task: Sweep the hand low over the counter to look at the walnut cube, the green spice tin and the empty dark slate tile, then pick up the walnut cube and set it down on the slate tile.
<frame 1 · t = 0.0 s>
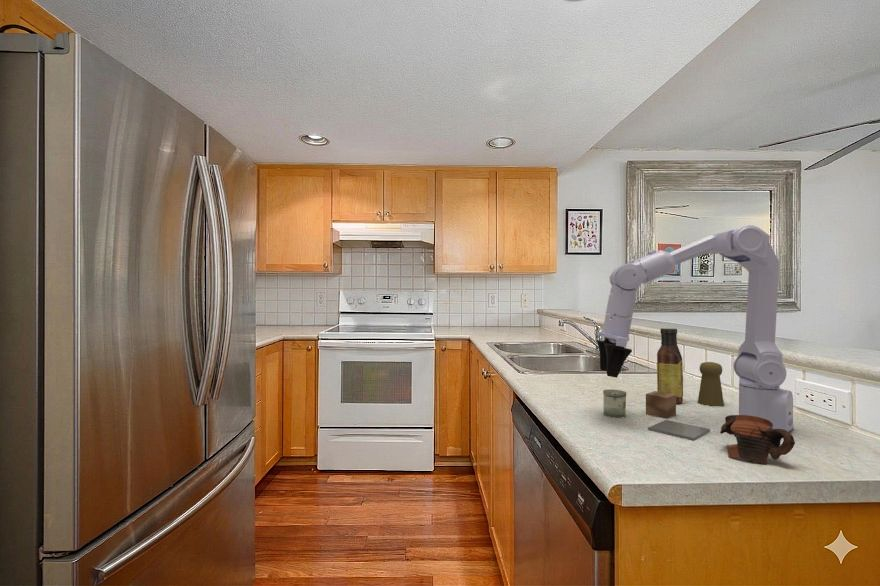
hand: (608, 373, 102), 11 cm above the counter, tool pointing down, fingers open, 7 cm apart
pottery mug: (755, 458, 79), on the counter
slate tile: (679, 430, 93), on the counter
green spice tin: (614, 415, 106), on the counter
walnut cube: (660, 414, 106), on the counter
cork: (710, 404, 117), on the counter
sauce bottle: (669, 402, 119), on the counter
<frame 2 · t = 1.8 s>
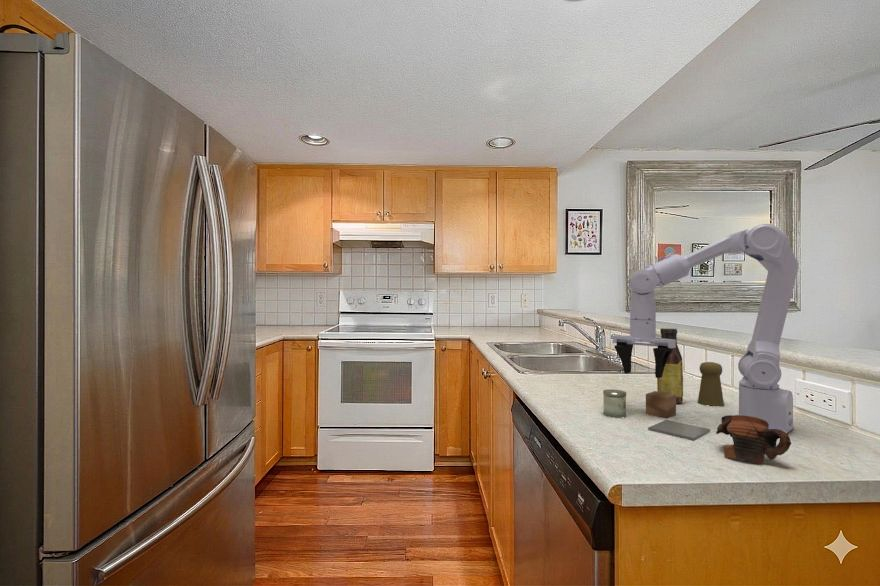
hand: (642, 375, 107), 9 cm above the counter, tool pointing down, fingers open, 7 cm apart
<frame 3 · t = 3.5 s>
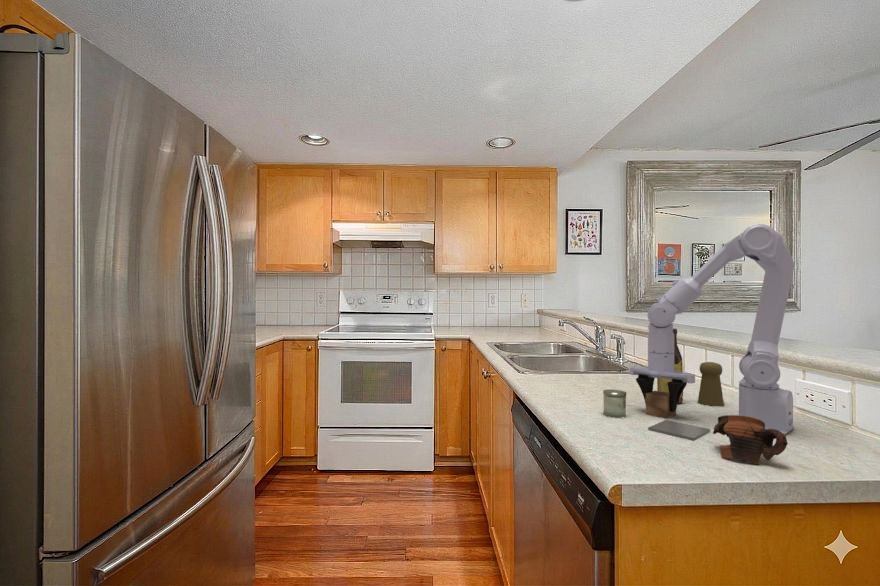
hand: (660, 408, 106), 1 cm above the counter, tool pointing down, fingers closed on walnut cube, 5 cm apart
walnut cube: (660, 414, 106), on the counter, touching gripper
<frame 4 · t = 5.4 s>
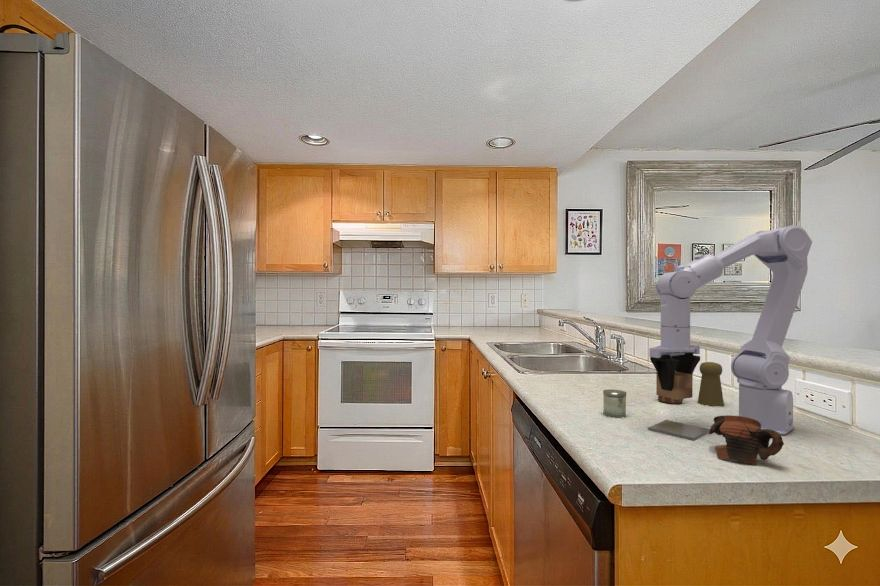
hand: (675, 388, 96), 8 cm above the counter, tool pointing down, fingers closed on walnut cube, 5 cm apart
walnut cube: (674, 396, 96), point 7 cm above the counter, touching gripper
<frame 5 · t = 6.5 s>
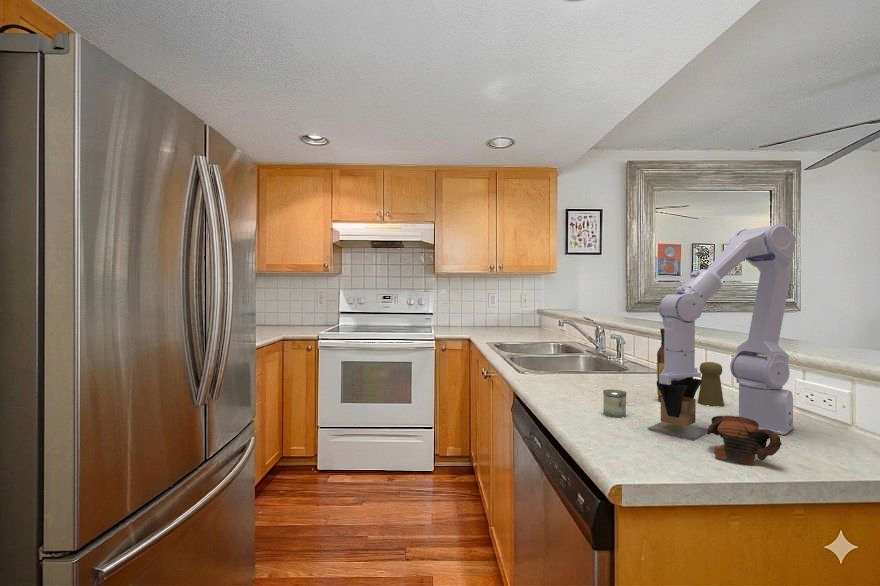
hand: (678, 414, 93), 4 cm above the counter, tool pointing down, fingers closed on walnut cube, 5 cm apart
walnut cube: (677, 421, 94), point 2 cm above the counter, touching gripper
when the fingers open (3 cm above the counter, at t = 7.2 s): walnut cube stays where it is, resting on slate tile.
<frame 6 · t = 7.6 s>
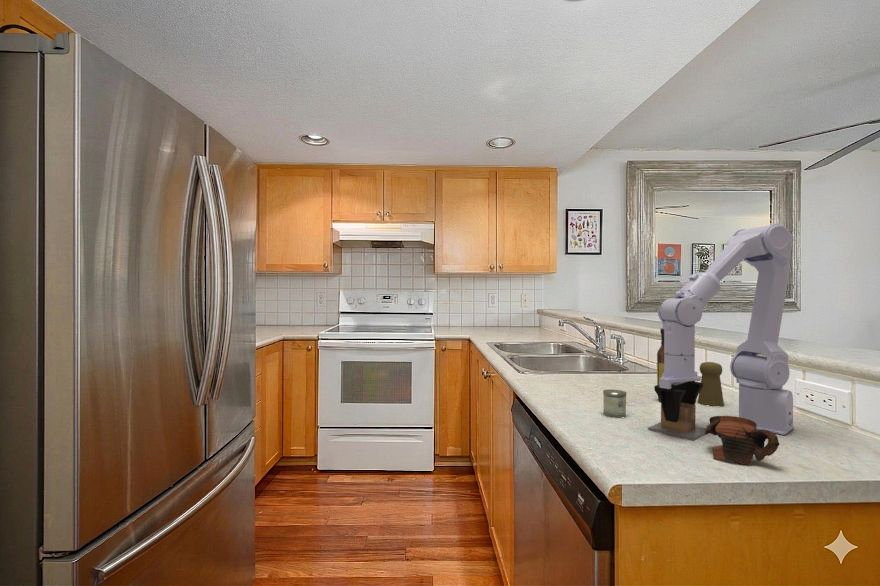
hand: (679, 417, 93), 3 cm above the counter, tool pointing down, fingers open, 7 cm apart
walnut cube: (678, 428, 94), resting on slate tile
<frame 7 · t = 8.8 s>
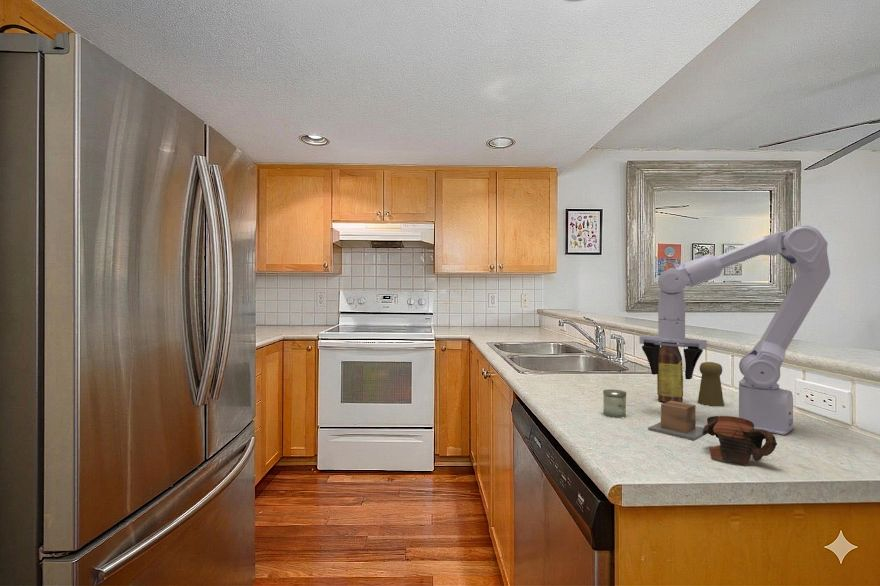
hand: (671, 376, 105), 9 cm above the counter, tool pointing down, fingers open, 7 cm apart
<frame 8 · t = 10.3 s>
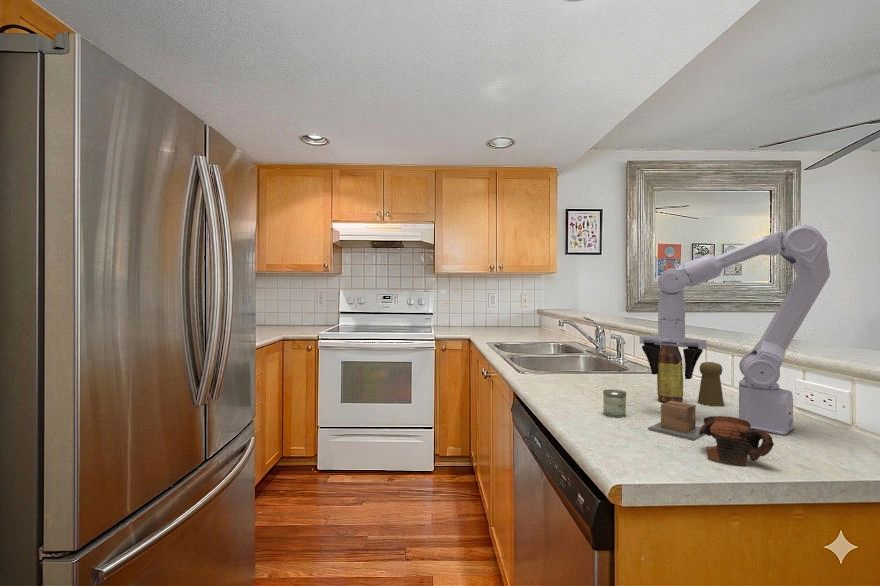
hand: (671, 376, 105), 9 cm above the counter, tool pointing down, fingers open, 7 cm apart
at the end: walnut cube inside the target area on the slate tile (0.2 cm from its centre), point 0.5 cm above the slate tile's base; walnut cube tilted 0°; the gripper is holding nothing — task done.
